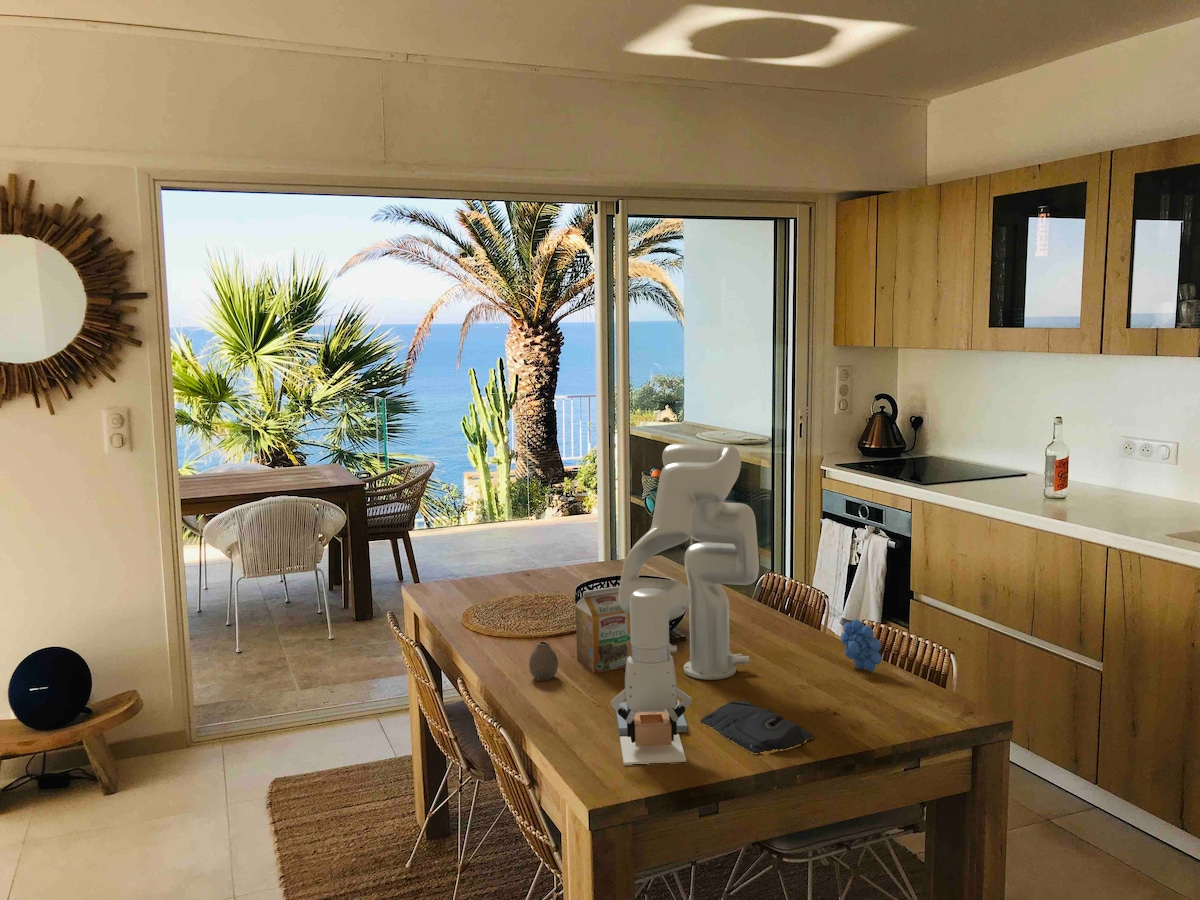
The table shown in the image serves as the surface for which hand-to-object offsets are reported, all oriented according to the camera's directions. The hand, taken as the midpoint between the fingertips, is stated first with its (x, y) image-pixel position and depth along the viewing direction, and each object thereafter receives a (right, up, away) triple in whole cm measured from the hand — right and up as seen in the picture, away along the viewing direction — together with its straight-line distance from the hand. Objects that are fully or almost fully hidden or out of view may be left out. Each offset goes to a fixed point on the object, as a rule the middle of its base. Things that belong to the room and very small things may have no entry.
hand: (651, 738), depth 196 cm
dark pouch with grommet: (+22, -2, +9) cm, 24 cm away
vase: (-24, +2, +42) cm, 48 cm away
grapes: (+52, +4, +42) cm, 67 cm away
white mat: (0, -2, 0) cm, 3 cm away
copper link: (0, 0, 0) cm, 0 cm away
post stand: (0, -1, +15) cm, 15 cm away
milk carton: (-9, +4, +52) cm, 52 cm away
